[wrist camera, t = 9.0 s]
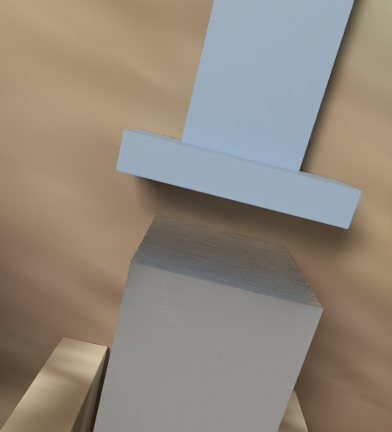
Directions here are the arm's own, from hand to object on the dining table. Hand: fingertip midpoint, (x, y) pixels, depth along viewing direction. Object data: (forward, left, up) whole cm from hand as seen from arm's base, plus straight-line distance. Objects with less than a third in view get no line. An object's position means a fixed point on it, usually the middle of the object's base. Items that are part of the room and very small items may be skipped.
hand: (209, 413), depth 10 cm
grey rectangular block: (0, -1, -7) cm, 8 cm away
